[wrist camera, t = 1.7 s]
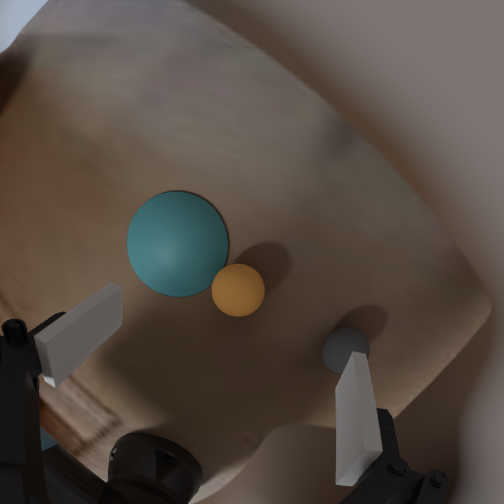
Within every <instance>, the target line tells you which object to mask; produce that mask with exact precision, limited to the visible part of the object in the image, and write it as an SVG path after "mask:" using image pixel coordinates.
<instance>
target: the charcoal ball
mask: <svg viewBox="0 0 504 504" xmlns="http://www.w3.org/2000/svg"><path fill="white" fill-rule="evenodd" d="M353 351H354V352H359V353H364V354H366V357H367V359H368V356H369V343H368V340H367V339H366V337H365V335H364V334H363V333H362V332H360V331H359V330H357V329H355V328H351V327H342V328H339V329H336V330H334V331H333V332H331V333H330V334H329V335H328V336H327V338H326V339H325V341H324V343H323V346H322V358H323V361H324V363H325V365H326V366H327V367H328V368H329V369H330V370H331V371H333V372H335V373H337V374H343V372H344V369H345V367H346V365H347V363H348V361H349V359H350V356H351V354H352V352H353Z"/></svg>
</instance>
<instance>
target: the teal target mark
mask: <svg viewBox="0 0 504 504" xmlns="http://www.w3.org/2000/svg"><path fill="white" fill-rule="evenodd" d="M127 250H128V255H129V259H130V262H131V265H132V267H133V269H134V271H135V272H136V274H137V275H138V277H139V278H140V279H141V280H142V281H143V282H144V283H145V284H146V285H147V286H148V287H150V288H151V289H153V290H155V291H156V292H158V293H161V294H163V295H167V296H173V297H185V296H191V295H194V294H197V293H199V292H201V291H203V290H204V289H206V288H207V287H209V286H210V285H211V284H212V283H213V280H214V278H215V276H216V275H217V273H218V272H219V271H220V270H222V269H223V267H224V265H225V262H226V258H227V254H228V238H227V232H226V229H225V226H224V224H223V221H222V219H221V218H220V216H219V215H218V213H217V212H216V211H215V209H214V208H213V207H212V206H211V205H210V204H209V203H207V202H206V201H205V200H203V199H202V198H200V197H198V196H196V195H193V194H190V193H185V192H167V193H163V194H160V195H157V196H155V197H153V198H151V199H150V200H148V201H147V202H146V203H144V204H143V205H142V206H141V207H140V209H139V210H138V211H137V212H136V214H135V216H134V217H133V219H132V221H131V224H130V227H129V230H128V236H127Z"/></svg>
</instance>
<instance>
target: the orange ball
mask: <svg viewBox="0 0 504 504" xmlns="http://www.w3.org/2000/svg"><path fill="white" fill-rule="evenodd" d="M264 294H265V286H264V282H263V280H262V277H261V276H260V274H259V273H258V272H257V271H256V270H255V269H253V268H252V267H250V266H248V265H245V264H231V265H228V266H226V267H224V268H223V269H222V270H220V271H219V272H218V273H217V275H216V276H215V278H214V280H213V283H212V297H213V300H214V302H215V304H216V305H217V307H218V308H219V309H220V310H221V311H222V312H224V313H226V314H228V315H230V316H235V317H241V316H246V315H249V314H251V313H253V312H254V311H255V310H256V309H257V308H258V307H259V306H260V305H261V303H262V301H263V298H264Z"/></svg>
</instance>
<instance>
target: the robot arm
mask: <svg viewBox="0 0 504 504" xmlns="http://www.w3.org/2000/svg"><path fill="white" fill-rule="evenodd" d="M122 291H123V286H122V285H119V284H117V283H114V282H111V283H110V284H108V285H107V286H105V287H104V288H102V289H101V290H99V291H98V292H96V293H95V294H93V295H92V296H90V297H89V298H87V299H86V300H84V301H83V302H82V303H80V304H79V305H77V306H76V307H74V308H73V309H71V310H70V311H69V312H67V313H66V312H64V311H63V312H60V313H57V314H54V315H53V316H51V317H50V318H48V320H46V321H44V322H43V323H41V324H40V325H38V326H37V327H36V328H34V329H33V330H31V331H30V332H28V333H27V328H26V324H25V322H24V321H22V320H20V319H10V320H7V321H6V322H4V323H3V325H2V326H1V327H2V331H3V335H4V336H1V335H0V504H188V503H189V502H190V501H191V499H192V498H193V496H194V495H195V494H196V493H197V492H198V490H199V488H200V485H201V480H202V470H201V467H200V465H199V464H198V462H197V461H196V460H195V458H194V457H193V456H192V455H191V454H190V453H188V452H187V451H186V450H184V449H183V448H181V447H180V446H178V445H176V444H174V443H173V442H170V441H168V440H166V439H163V438H160V437H157V436H153V435H148V434H130V435H126V436H123V437H121V438H120V439H119V440H118V441H117V442H116V443H115V445H114V447H113V448H112V450H111V452H110V456H109V467H108V481H107V483H106V482H104V481H103V480H102V479H101V478H99V477H98V476H97V475H95V474H94V473H93V472H92V471H90V470H89V469H88V468H87V467H85V466H84V465H83V464H82V463H81V462H79V461H78V460H77V459H76V458H75V457H74V456H72V455H71V454H70V453H69V452H68V451H67V450H66V449H65V448H63V447H62V446H61V445H60V444H59V442H58V441H57V440H56V439H53V438H52V437H51V436H50V435H49V434H48V433H47V432H46V431H44V430H43V429H42V428H41V427H40V415H39V378H38V376H39V375H40V374H41V373H43V376H44V380H45V381H46V382H47V383H49V384H50V385H52V386H53V387H55V388H56V387H57V386H58V385H59V384H61V383H62V382H63V381H64V380H65V379H66V378H67V377H68V376H69V375H70V374H71V373H72V372H73V371H74V370H75V369H76V368H77V367H78V366H79V365H80V364H81V363H82V362H83V361H85V360H86V359H87V358H88V357H89V356H90V355H91V354H92V353H93V352H94V351H95V350H96V349H97V348H98V347H99V346H100V345H102V344H103V343H104V342H105V341H106V340H107V339H108V338H109V337H110V336H111V335H112V334H113V333H114V332H116V331H117V330H118V329H119V328H120V327H121V326H122ZM335 397H336V485H345V486H346V485H347V486H353V485H354V484H355V483H356V482H357V480H358V487H356V488H355V489H354V490H353V491H352V492H351V493H350V494H349V495H348V496H347V497H346V498H344V499H343V500H342V501H341V502H340V503H339V504H445V501H446V497H447V493H448V490H449V486H450V480H449V478H448V476H447V475H446V474H445V472H443V471H441V470H438V469H433V470H430V471H429V472H427V473H426V474H422V473H418V472H415V471H412V470H410V469H409V466H408V464H407V462H406V461H405V460H403V459H402V458H400V455H399V449H398V444H397V439H396V434H395V428H394V423H393V418H392V416H391V415H390V413H389V412H388V410H387V409H380V408H376V404H375V398H374V392H373V387H372V382H371V376H370V371H369V366H368V361H367V357H366V354H364V353H359V352H354V351H353V352H352V354H351V356H350V359H349V361H348V363H347V365H346V367H345V369H344V372H343V374H342V376H341V378H340V380H339V382H338V384H337V386H336V388H335Z"/></svg>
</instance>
